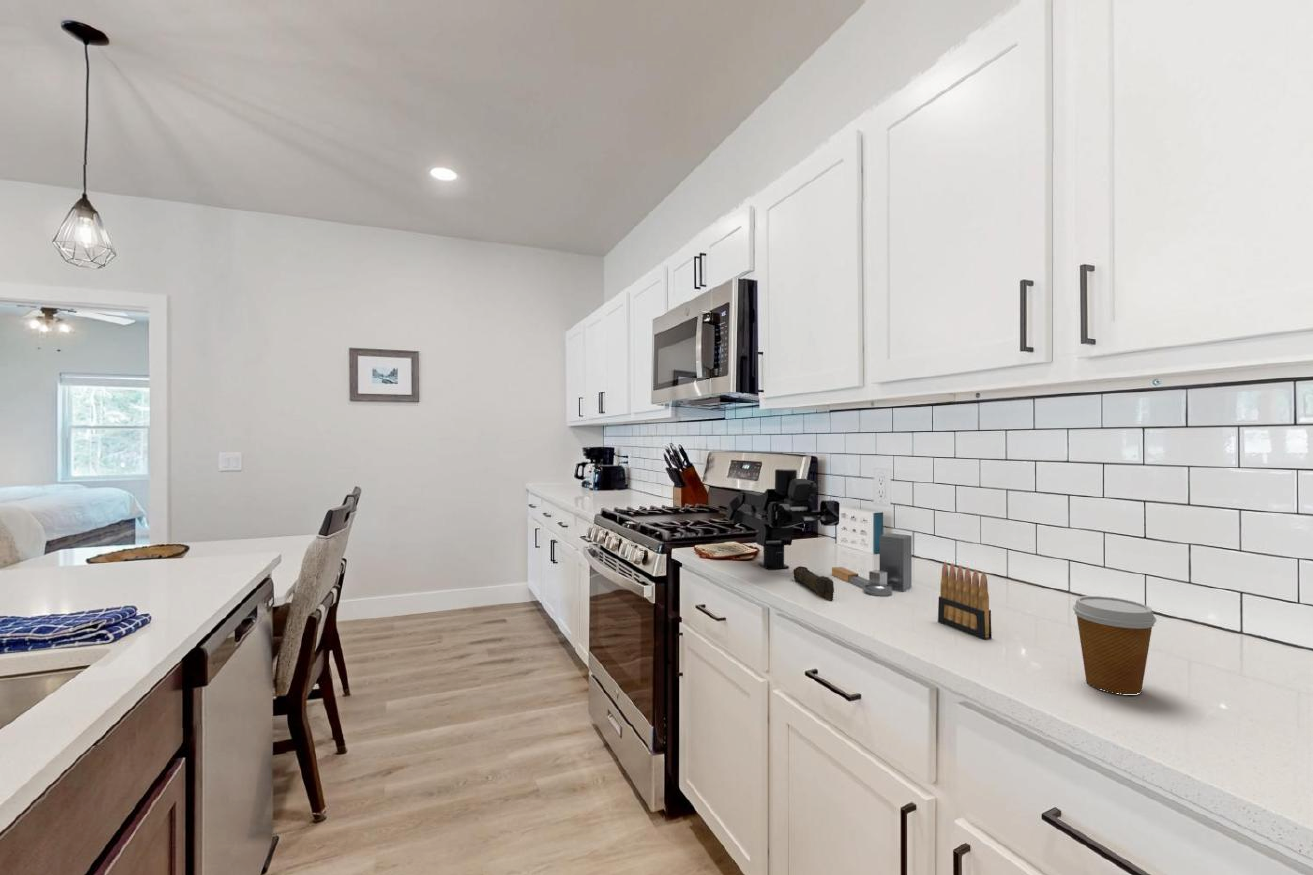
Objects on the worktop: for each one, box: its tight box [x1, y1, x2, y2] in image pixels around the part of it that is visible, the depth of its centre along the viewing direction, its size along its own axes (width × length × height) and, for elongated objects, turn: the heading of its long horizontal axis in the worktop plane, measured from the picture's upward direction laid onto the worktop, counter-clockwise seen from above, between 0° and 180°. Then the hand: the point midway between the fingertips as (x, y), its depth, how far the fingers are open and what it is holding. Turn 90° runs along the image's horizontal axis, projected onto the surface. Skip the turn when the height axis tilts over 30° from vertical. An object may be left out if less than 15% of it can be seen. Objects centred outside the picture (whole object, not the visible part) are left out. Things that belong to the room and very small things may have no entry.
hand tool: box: [792, 565, 835, 601], centre depth 137 cm, size 19×4×5 cm, turn 5°
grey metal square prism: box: [879, 532, 913, 593], centre depth 139 cm, size 6×6×12 cm
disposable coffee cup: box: [1072, 595, 1158, 694], centre depth 84 cm, size 10×10×12 cm
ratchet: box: [831, 566, 893, 598], centre depth 142 cm, size 22×6×5 cm, turn 12°
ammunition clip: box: [937, 561, 993, 641], centre depth 108 cm, size 11×2×12 cm, turn 19°
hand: (821, 519), depth 137 cm, fingers open, 9 cm apart
